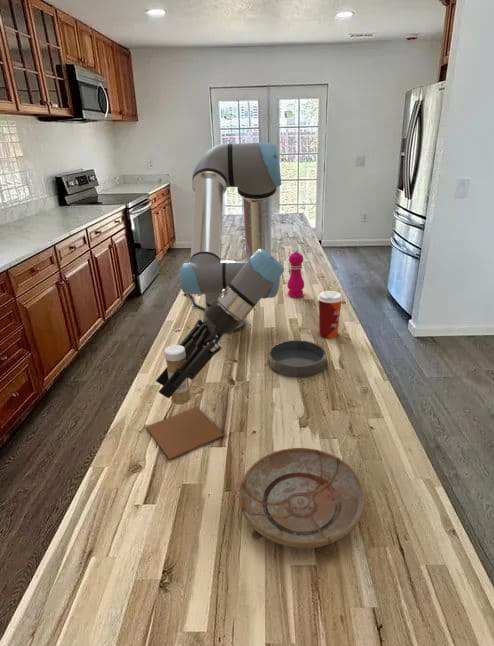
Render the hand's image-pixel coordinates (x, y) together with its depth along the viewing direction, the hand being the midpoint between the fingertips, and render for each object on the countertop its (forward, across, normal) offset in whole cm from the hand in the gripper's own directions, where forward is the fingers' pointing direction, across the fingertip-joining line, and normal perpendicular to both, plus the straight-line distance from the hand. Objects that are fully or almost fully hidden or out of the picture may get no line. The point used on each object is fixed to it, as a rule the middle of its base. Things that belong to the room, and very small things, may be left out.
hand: (162, 388), depth 99 cm
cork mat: (+7, 0, +12) cm, 14 cm away
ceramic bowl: (-5, +31, +24) cm, 40 cm away
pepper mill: (-37, -75, +56) cm, 101 cm away
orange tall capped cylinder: (-33, -35, +52) cm, 71 cm away
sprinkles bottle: (0, 0, +6) cm, 6 cm away
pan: (-21, -21, +40) cm, 49 cm away
